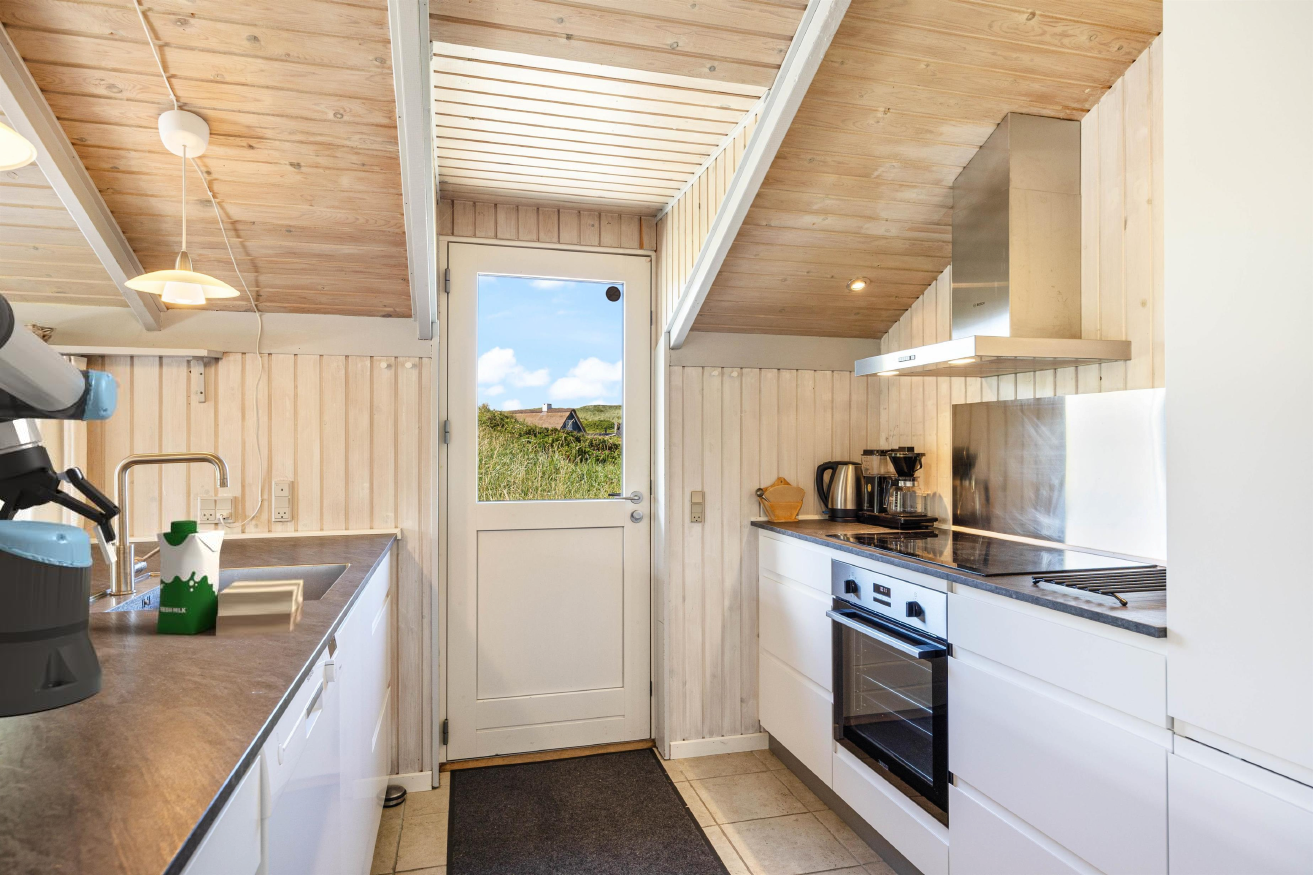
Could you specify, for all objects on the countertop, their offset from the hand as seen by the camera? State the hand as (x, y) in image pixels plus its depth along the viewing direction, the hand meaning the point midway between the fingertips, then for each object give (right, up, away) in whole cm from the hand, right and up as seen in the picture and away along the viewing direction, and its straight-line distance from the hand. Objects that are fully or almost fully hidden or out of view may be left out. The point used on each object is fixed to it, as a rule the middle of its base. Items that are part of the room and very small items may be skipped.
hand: (63, 576), depth 117 cm
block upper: (+21, -10, +20) cm, 31 cm away
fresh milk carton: (+9, -13, +17) cm, 23 cm away
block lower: (+21, -14, +20) cm, 32 cm away
